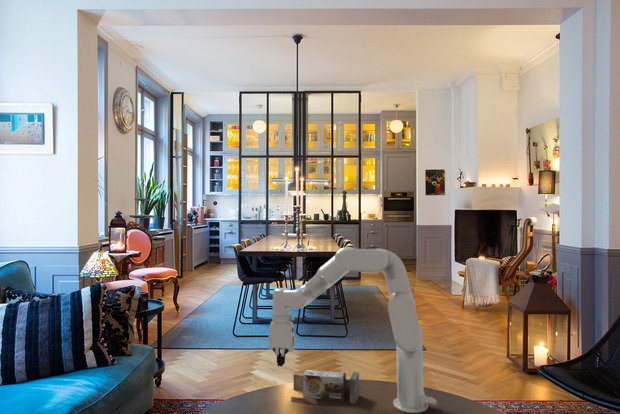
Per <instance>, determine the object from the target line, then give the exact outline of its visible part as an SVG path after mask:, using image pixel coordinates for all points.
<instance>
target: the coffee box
mask: <svg viewBox="0 0 620 414" xmlns="http://www.w3.org/2000/svg"><path fill="white" fill-rule="evenodd" d="M302 375H303V391H302V392H303V393H302V398H308V399H317V400H324V401H325V400H326V401H336V402H337V401H339V402H345V399H346V397H347V395H346V379H347V374H346V372H343V371H341V372H339V371H325V370H311V369H306V370H305V372H304V373H303V374H302Z"/></svg>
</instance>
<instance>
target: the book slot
mask: <svg viewBox="0 0 620 414" xmlns="http://www.w3.org/2000/svg"><path fill="white" fill-rule="evenodd" d="M293 390H295V391H302V392H303V374H300V373H299V374H298V373H294V374H293ZM348 395H350V396H349V404H350V403H351V404H352V405H356V404H355V403H357V401H358V399H359V396H360V372H359V371H353V373H352V374H351V376H350V378H346V396H348ZM290 402H294V403H302V404H311V405H317V404H318V399H310V398H303V397H297V396H291V397H290Z"/></svg>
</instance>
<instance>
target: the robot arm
mask: <svg viewBox="0 0 620 414" xmlns="http://www.w3.org/2000/svg"><path fill="white" fill-rule="evenodd" d="M350 272H359V273H373V274H376V273H383V276H384V278H385V284H386V288H387V293H388V297H389V300H388V304H387V311H388V317H389V319H390V325H391V328H392V329H391V330H392V334H393V337H394V342H395V343H396V348H395V349H396V398H395V399H393V402H392V404H393V407H394V408H395V409H396V410H398V411H400V412H403V413H409V414H419V413H423V412H426V411H427V410H428V409H429V405H431V406H437V399H435V398H434V397H432V396H427V395H425V393H426V392H424V360H423V359H424V355H423V353H424V352H423V351H424V350H423V348H424V346H423V344H424V343H423V329H422V326H421V325H420V323H419V319H418V318H419V317H418V314H417V310H416V301H415V298H414V295H413V292H412V287H411V285H410V284H411V283H410V280H409V276H408V273H407V272H408V271H407V268H406V266H405V265H404V263H403V260H402V259H401V258H400V257H399V256H398V255H397V254H396V253H395V252H392V251H390V250H388V249H385V248H372V249H368V248H367V249H366V248H354V247H352V246H345V247H341V248H339V249H338V250H337V251H336V252H335V254H334V255H333V257H331V258H330V259H329V260H327V262H325V263H324V264H323V265H321V266H320V267H319V268H318V270H317V272H316V273H315V275H314V276H313V277H311V278H310V279H309V280H307V282H305V283H304V284H303V285H302V286H300V287H299V288H297V289H296V288H295V289H291V288H288V287H276V288H274V289H273V290H272V317H271V319H272V321H270V324H269V331H268V340H267V343H268V347H267V349H268V350H270V351H272V352H273V353H274V354H275V356H276V364H277V367H283V366H284V365H285V363H286V356H287V354H288V353H291V352H294V351H295V347H294V346H295V344H296V337H295V326H294V323H293V321H295V316H292V309H297V310H300V309H303V308H304V307H306V306H307V305H309V304H311V303H312V302H313V301H314V300H316V299H317V298H318V297H319V296H320V295H322V294H323V293H324V292H325V291H326V290H328V289H330V288H331V287H332V286H334V285H335V284H336V283H337V282H338V281H340V280H341V279H342V278H343V277H344V276H346V275H347V274H348V273H350Z"/></svg>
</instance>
